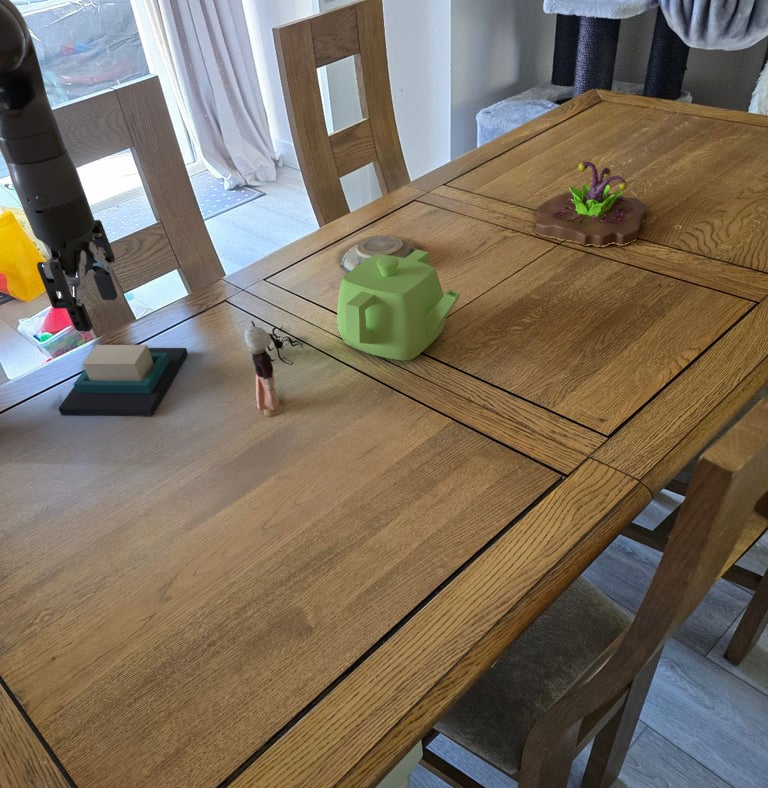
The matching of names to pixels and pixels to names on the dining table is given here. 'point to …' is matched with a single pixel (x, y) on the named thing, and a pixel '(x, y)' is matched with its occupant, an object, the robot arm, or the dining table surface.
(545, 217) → the plant
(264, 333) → the grandmother figurine
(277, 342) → the creature
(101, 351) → the cream pad
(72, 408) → the pad
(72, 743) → the dining table surface
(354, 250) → the decorative bowl
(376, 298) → the teapot
